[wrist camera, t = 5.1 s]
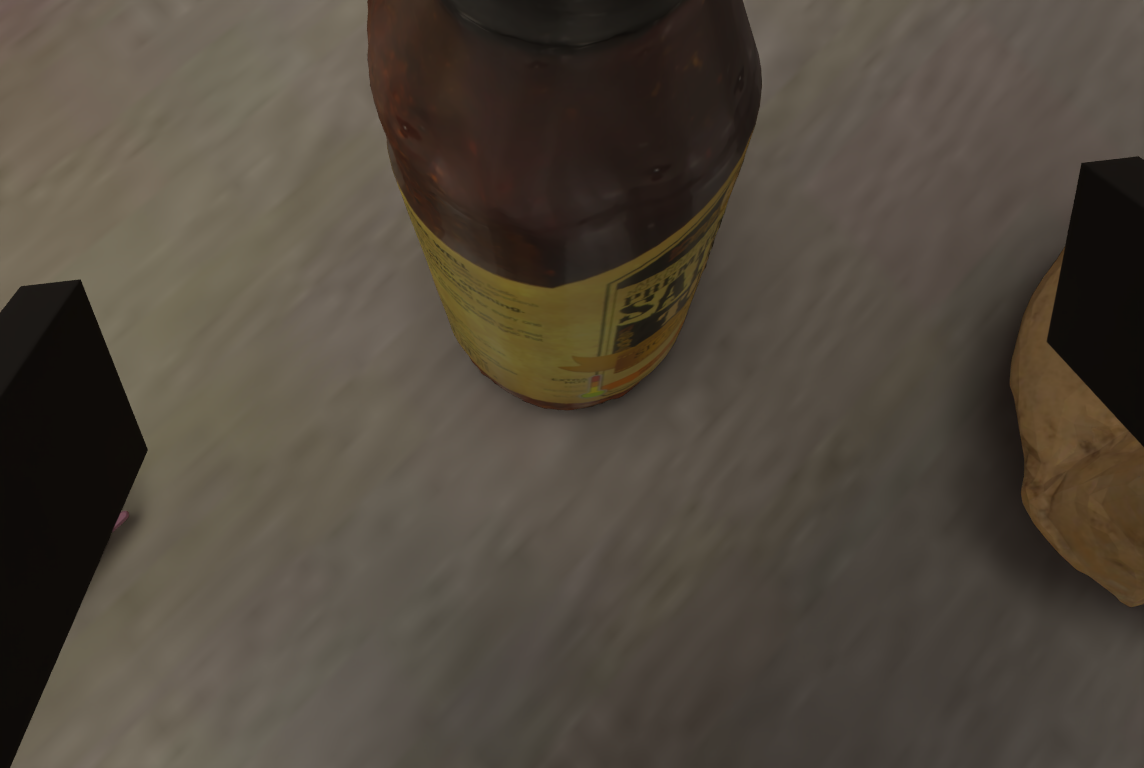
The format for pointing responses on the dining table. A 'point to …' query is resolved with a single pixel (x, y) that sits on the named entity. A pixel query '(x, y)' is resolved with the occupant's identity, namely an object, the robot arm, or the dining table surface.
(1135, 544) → the oil lamp
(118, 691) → the dining table surface
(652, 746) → the dining table surface
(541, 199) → the sauce bottle
